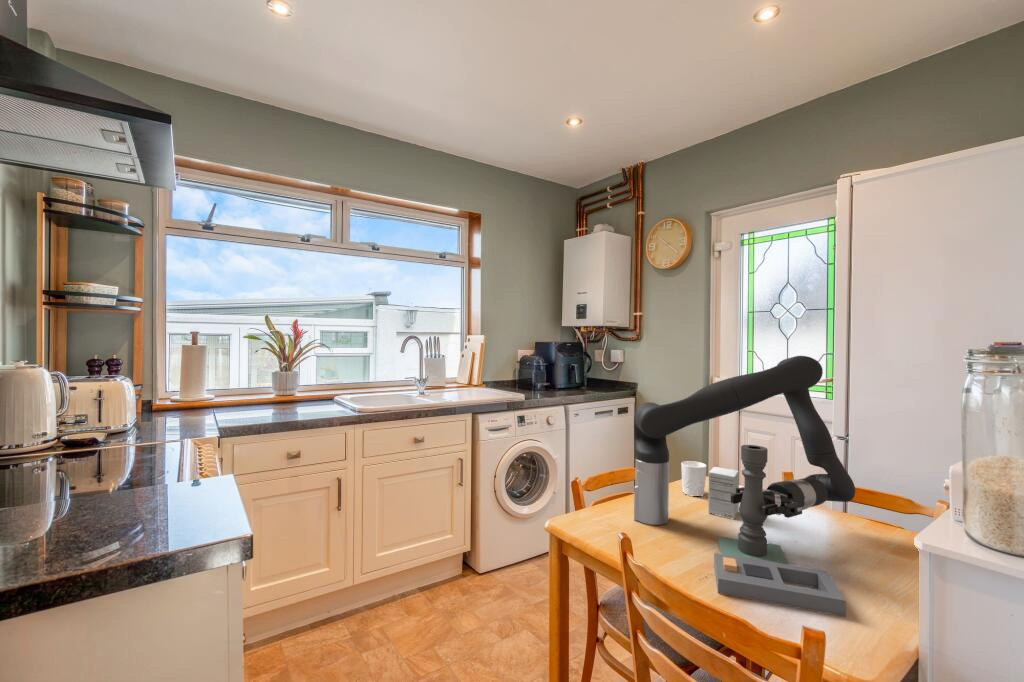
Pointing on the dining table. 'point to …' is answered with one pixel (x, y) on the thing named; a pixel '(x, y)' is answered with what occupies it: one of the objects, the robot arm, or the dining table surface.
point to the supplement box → (723, 492)
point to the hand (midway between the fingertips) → (747, 505)
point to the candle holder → (753, 502)
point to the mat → (731, 548)
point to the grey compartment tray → (778, 584)
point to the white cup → (693, 477)
